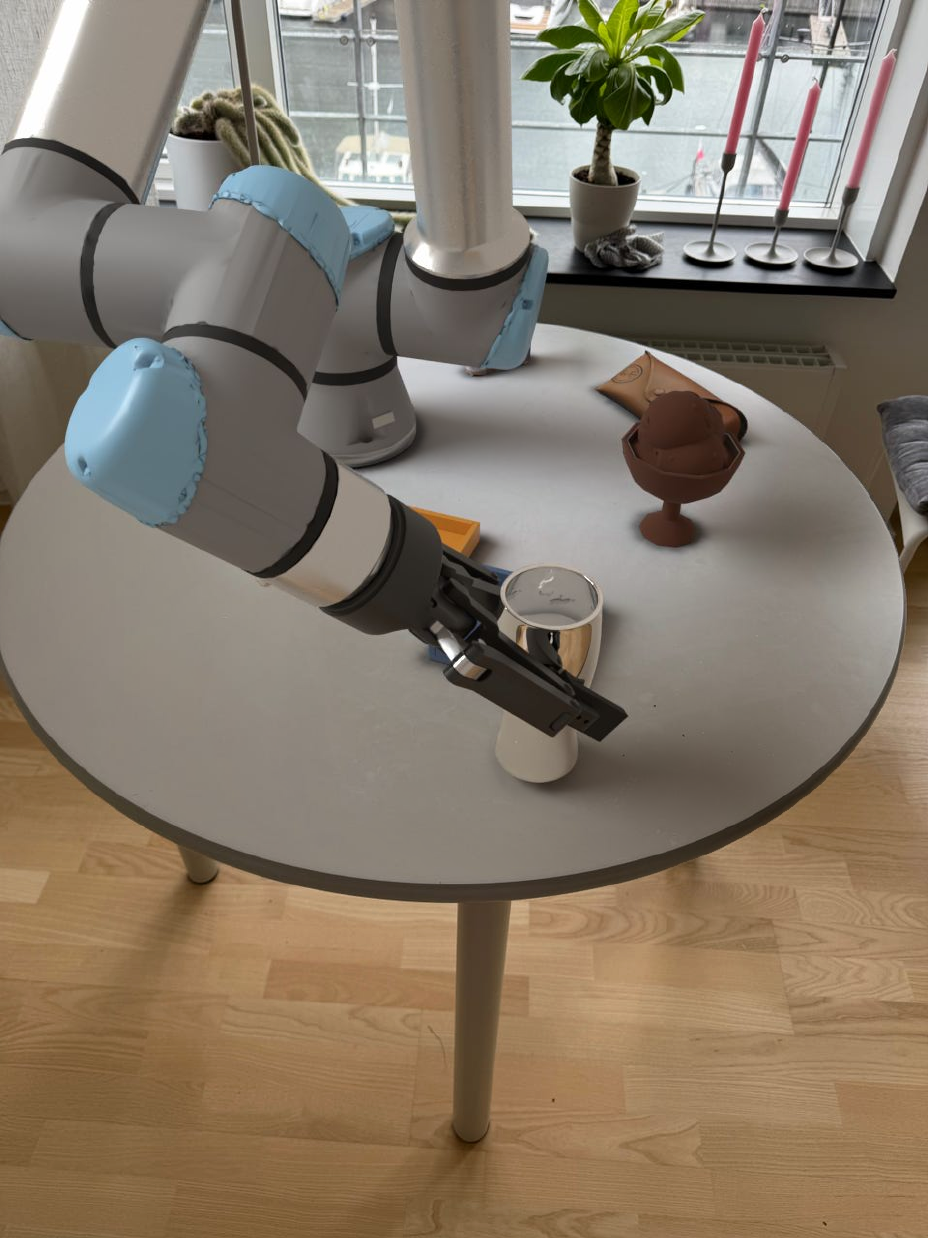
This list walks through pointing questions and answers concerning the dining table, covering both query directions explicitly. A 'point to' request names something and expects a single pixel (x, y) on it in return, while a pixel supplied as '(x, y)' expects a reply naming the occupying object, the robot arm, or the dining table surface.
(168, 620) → the dining table surface
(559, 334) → the dining table surface
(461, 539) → the amber tray
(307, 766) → the dining table surface
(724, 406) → the sunglasses case
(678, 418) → the ice cream bowl
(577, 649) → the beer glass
